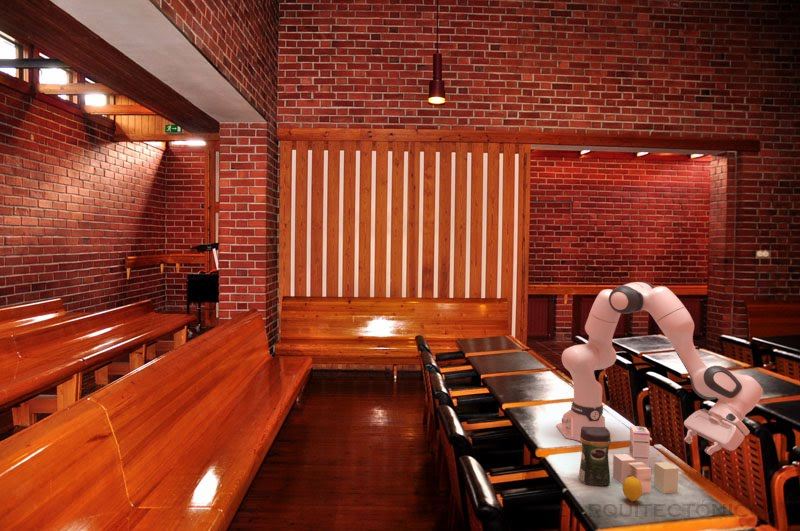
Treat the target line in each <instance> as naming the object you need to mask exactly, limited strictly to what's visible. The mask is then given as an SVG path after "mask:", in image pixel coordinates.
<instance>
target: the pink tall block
mask: <svg viewBox="0 0 800 531" xmlns="http://www.w3.org/2000/svg"><path fill="white" fill-rule="evenodd" d="M631 476H634V477H635V478H637V479H638V480H639V481H640V483H641V486H642V494H651V489H652V468H651V467H650V466H649V467H648V466H647V465H645V464H644V463H642V462H637V463H628V477H631Z"/></svg>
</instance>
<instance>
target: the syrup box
mask: <svg viewBox="0 0 800 531" xmlns="http://www.w3.org/2000/svg"><path fill="white" fill-rule="evenodd" d="M650 435H651V434H650V431H649V430H648V429H647V427H646V426H641V425H640V426H638V425H631V426H629V449H628V450H629V453H628V455H629V456H630V457H632V458H633V459H635V460H636V461H635V463H637V462H642V463H644V464H645V465H647V466H648V467H650V444H651V443H650Z"/></svg>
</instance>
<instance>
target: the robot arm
mask: <svg viewBox="0 0 800 531" xmlns="http://www.w3.org/2000/svg"><path fill="white" fill-rule="evenodd" d="M642 310H643V311H646V312H648V313H649V314H650V315H651V317H652V318H653V320H654V321H655V323H656V324H657V325H658V327H659V329H660V330H661V332H662V334H664V336H665V337H666V338H667V340H668V342H669V343H670V345H671V346H672V348H673V349H674V352H675V353H676V355H677V357H678V358H679V360H680V361H681V363H682V365H683V367H684V368H685V370H686V372H687V373H688V375H689V379H690V384H691V389H692V390H693V392H694V393H695V394H696V395H697V396H698V397H700V398H701V399H705V400H707V401H708V400H710V401H711V400H716V399H717V401H716V402H715V403H714V405H712V406H711V408H710V409H709V410H707V409H706V408H702V409H698V410H696V411H694V412H693V413H691V415H689V416H688V417H687V418H686V419H685V420H684V422H683V425H684V427H685V428H686V429H687V432H686V433H687V434H686V436H685V437H684V439H683V440H684V442H686V443H687V444H689V445H691V444H692V443H693V442H694V439H693V437H695V436H696V435H698V436H700V437H702V438H704V439H705V440H707V441H710V442H712V443H713V445H711V446H706V448H705V449H704V452H705V453H706V454H707V455H709V456H712V455H713V454H714V453H716V452H717V451H720V450H722V448H723V449H726V450H728V451H729V452H731V451H735V450H736V449H737V448H738V447H739V446H740V445H741V444H742V443H743V442H744V440H745V436H748V435H749V434H750V430H749V428H748V427H747V426H746V425H745V423H744V422H743V420H744V418H745V416H746V415H747V414H748V413H750V412H751V411H753V409H754V408H755V407H756V406H757V405H758V403H759V402H760V400H761V398H762V397H763V394H764V390H763V387H762V386H761V384H760V383H759V381H757V380H756V378H753V376H751V375H748V374H741V373H737V372H733V371H731V370H729V369H727V368H726V367H724V366H721V365H712V366H709V367H708V366H707V365H706V364H705V362H704V360H703V359H702V358H701V356H700V354H699V352H698V351H697V349H696V347H695V345H694V339H693V338H694V337H693V336H694V330H695V322H694V320H693V317H692V316H691V314H690V312H689V311H688V310H687V308H686V307H685V305H684V304H683V303H682V301H681V299H679V297H677V295H675V293H674V292H673V291H672V290H670V289H669V288H668V287H666V286H661V285H660V286H656V287H655V286H654V285H653V284H651V283H649V282H647V281H636V282H635V281H634V282H628V283H626V284H623V285H618V286H617V287H615V288H613V289H609V288H607V289H602V290H601V291H600V292H599V293H598V295H597V296H596V297H595V299H594V302H593V304H592V306H591V309H590V312H589V313H588V316H587V319H586V322H585V325H584V331H585V333H586V334H587V335H588V341H587V342H586V343H583V344H576V345H572V346H570V347H567V348H565V349H564V350H563V351H562V354H561V363H562V365H563V367H564V369H566V370H567V371H568V372H569V373H570V375H571V378H572V381H573V382H572V383H573V400H571V401H570V404H571V406H570V410H568V411H566V412H564V413H563V415H562V417H561V422H560V423H557V424H556V427H557V430H559V432H560V433H561V434H562V436H563V437H564V438H565V439H567V440H574V441H577V442H581V440H580V434H581V428H582V427H583V426H585V427H606V418H605V416H604V415H603V414H604V405H603V386H602V383H600V382H599V381H598V380H597V379H596V376H595V371H597V370H598V371H600V370H604V369H607V368H609V367H611V366H613V365H614V364H615V362H616V361H617V352H616V350H615V348H614V347H613V337H614V334H615V332H616V329H617V325H618V323H619V321H620V318H621V315H622V314H624V315H625V314H626V315H627V314H628V315H629V314H633V313H638V312H640V311H642Z"/></svg>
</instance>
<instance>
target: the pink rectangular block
mask: <svg viewBox="0 0 800 531" xmlns="http://www.w3.org/2000/svg"><path fill="white" fill-rule="evenodd" d="M612 456H613V457H612V458H613V461H612V462H613V463H612V479H614V480H615V481H616V482H618V483H619V484H620V485H623V483H624V481H625V479H626V478H628V463H635V461H636V460H635V459H633V458H632V457H630V456H629V453H628V454H627V453H623V454H622V453H621V454H620V453H619V454H613V455H612Z"/></svg>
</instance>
